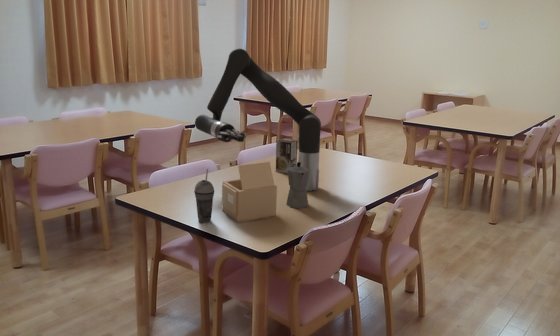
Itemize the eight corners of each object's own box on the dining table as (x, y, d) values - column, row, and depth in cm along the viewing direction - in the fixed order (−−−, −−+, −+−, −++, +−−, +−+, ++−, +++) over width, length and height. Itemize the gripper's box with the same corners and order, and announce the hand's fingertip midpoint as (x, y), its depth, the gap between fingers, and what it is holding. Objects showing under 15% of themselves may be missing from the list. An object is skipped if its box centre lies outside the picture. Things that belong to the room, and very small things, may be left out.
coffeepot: (312, 209, 202) (315, 166, 198) (290, 210, 200) (291, 166, 195) (302, 197, 217) (304, 156, 212) (281, 198, 215) (282, 157, 210)
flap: (242, 190, 183) (238, 165, 184) (273, 185, 190) (269, 162, 191) (243, 189, 183) (238, 165, 184) (274, 185, 189) (269, 161, 190)
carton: (219, 210, 197) (219, 181, 194) (259, 204, 206) (260, 176, 203) (236, 223, 185) (236, 192, 182) (278, 215, 194) (278, 185, 191)
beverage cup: (195, 217, 190) (194, 166, 184) (214, 217, 190) (214, 166, 185) (193, 224, 182) (193, 171, 177) (214, 224, 183) (213, 171, 178)
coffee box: (296, 171, 257) (298, 140, 253) (290, 174, 252) (291, 142, 247) (281, 168, 262) (282, 138, 257) (275, 171, 256) (275, 140, 252)
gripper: (207, 123, 204) (226, 130, 190) (237, 121, 211) (257, 128, 196) (207, 141, 206) (225, 150, 192) (237, 139, 213) (256, 147, 198)
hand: (241, 139), depth 194 cm, fingers closed
